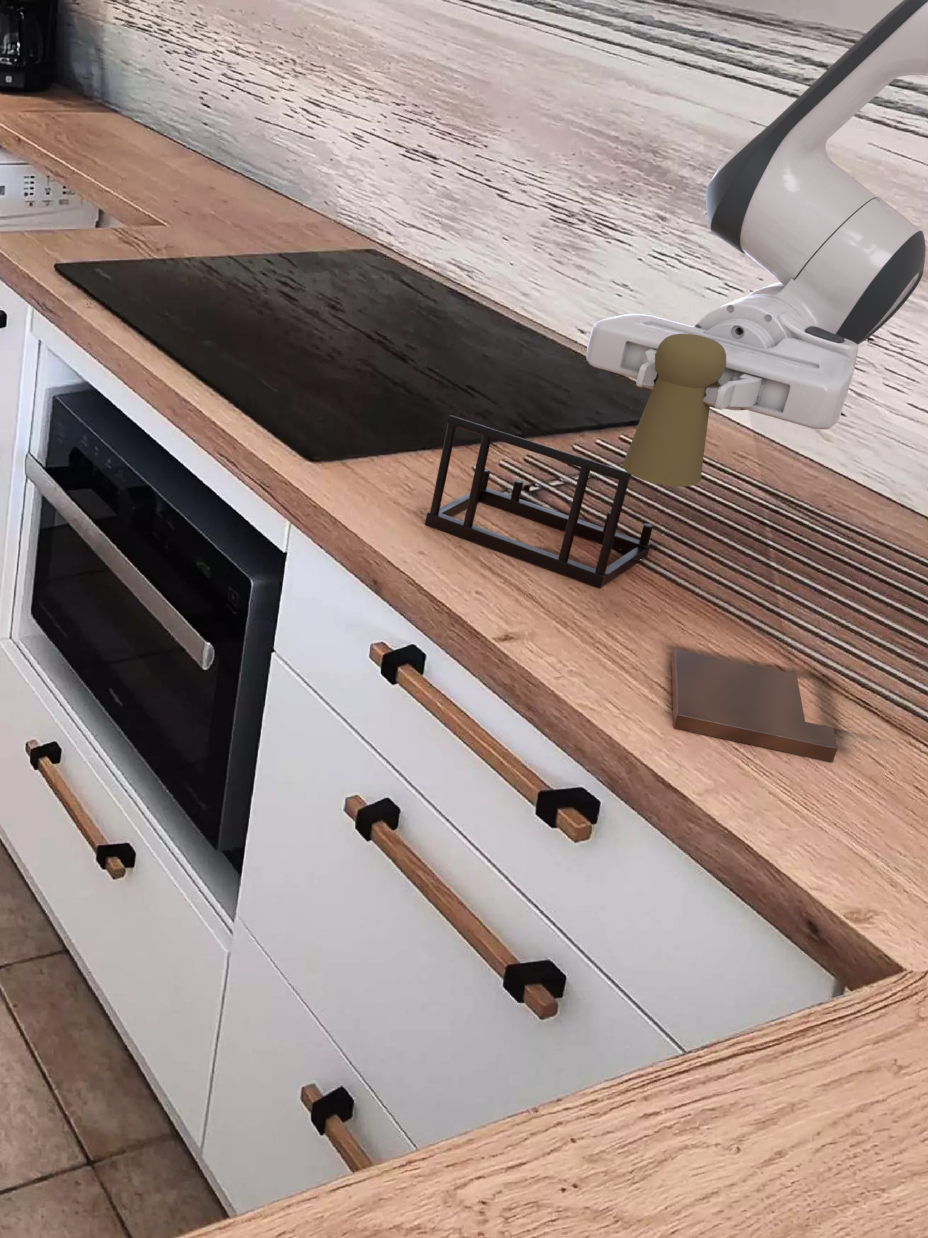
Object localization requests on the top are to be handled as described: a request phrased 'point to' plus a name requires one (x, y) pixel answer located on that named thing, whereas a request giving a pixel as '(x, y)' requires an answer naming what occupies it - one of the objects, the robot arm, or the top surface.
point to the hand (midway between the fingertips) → (679, 388)
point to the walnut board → (745, 706)
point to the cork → (676, 412)
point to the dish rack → (537, 511)
